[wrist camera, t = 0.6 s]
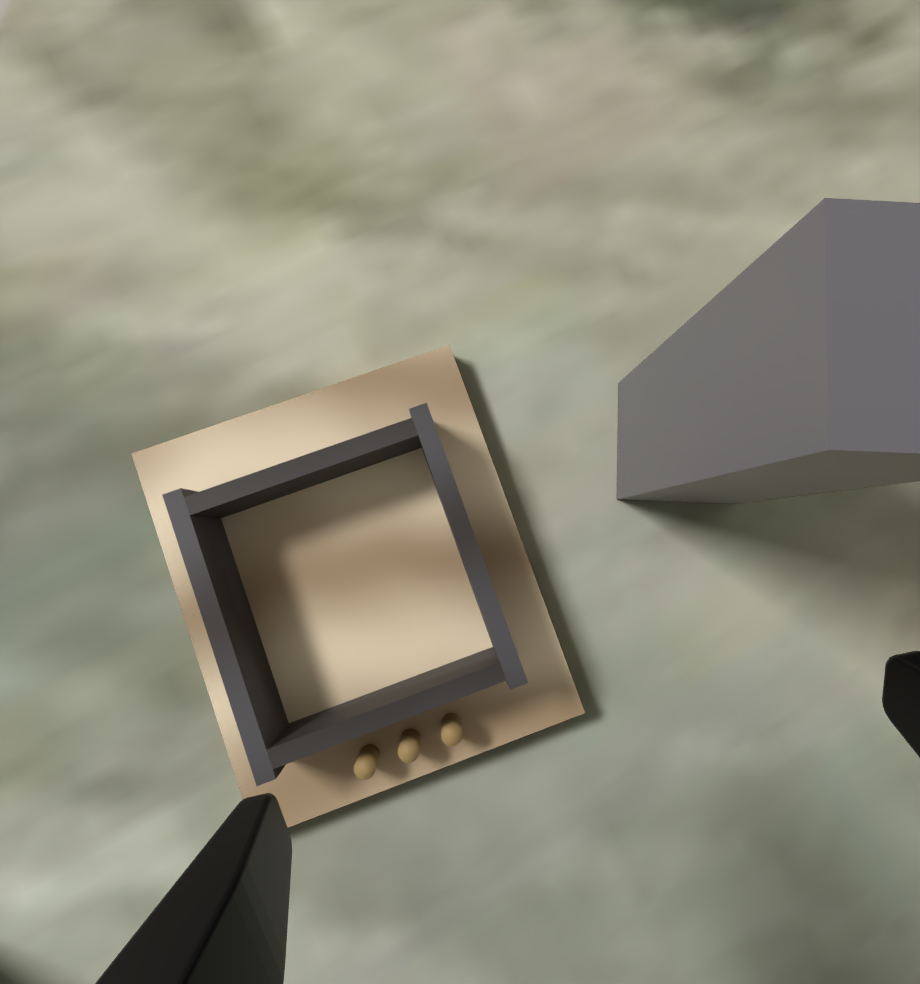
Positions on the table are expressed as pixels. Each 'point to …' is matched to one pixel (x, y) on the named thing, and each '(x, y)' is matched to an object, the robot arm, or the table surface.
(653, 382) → the plug block
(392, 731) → the socket board
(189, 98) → the table surface
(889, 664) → the robot arm
